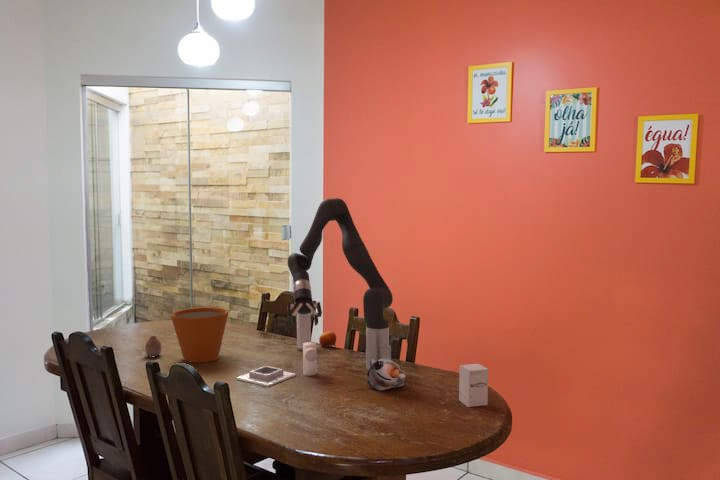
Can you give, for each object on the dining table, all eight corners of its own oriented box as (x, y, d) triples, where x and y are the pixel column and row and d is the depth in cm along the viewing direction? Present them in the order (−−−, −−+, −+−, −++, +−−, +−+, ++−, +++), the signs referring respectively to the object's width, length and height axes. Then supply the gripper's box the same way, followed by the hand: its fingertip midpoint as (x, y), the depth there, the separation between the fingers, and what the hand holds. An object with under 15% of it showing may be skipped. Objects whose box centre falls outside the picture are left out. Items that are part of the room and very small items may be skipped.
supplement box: (468, 408, 202) (468, 370, 200) (458, 400, 209) (458, 364, 208) (488, 405, 204) (488, 368, 203) (477, 398, 211) (478, 362, 210)
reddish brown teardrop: (164, 354, 268) (163, 334, 268) (157, 358, 261) (157, 338, 261) (149, 353, 269) (148, 334, 268) (142, 358, 262) (141, 338, 261)
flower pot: (160, 361, 257) (158, 315, 255) (199, 348, 278) (198, 305, 276) (203, 369, 246) (201, 320, 244) (240, 355, 267) (239, 310, 265)
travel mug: (309, 351, 273) (308, 307, 271) (295, 350, 274) (294, 306, 272) (313, 347, 279) (312, 304, 277) (299, 346, 280) (298, 303, 278)
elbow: (302, 372, 241) (302, 342, 240) (315, 371, 242) (315, 341, 241) (305, 378, 233) (304, 348, 232) (318, 378, 234) (318, 347, 233)
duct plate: (295, 375, 237) (295, 368, 237) (268, 386, 224) (268, 379, 223) (265, 369, 246) (264, 362, 245) (236, 379, 232) (236, 372, 232)
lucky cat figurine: (409, 383, 227) (414, 356, 220) (396, 404, 218) (401, 377, 210) (373, 367, 232) (377, 340, 225) (359, 387, 223) (362, 360, 215)
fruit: (332, 346, 275) (325, 330, 276) (320, 353, 279) (314, 337, 281) (343, 343, 281) (336, 327, 283) (332, 349, 285) (325, 333, 287)
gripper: (286, 287, 255) (288, 320, 245) (319, 287, 258) (323, 319, 248) (285, 298, 261) (287, 330, 251) (318, 297, 264) (321, 329, 254)
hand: (305, 325), depth 249 cm, fingers open, 8 cm apart
